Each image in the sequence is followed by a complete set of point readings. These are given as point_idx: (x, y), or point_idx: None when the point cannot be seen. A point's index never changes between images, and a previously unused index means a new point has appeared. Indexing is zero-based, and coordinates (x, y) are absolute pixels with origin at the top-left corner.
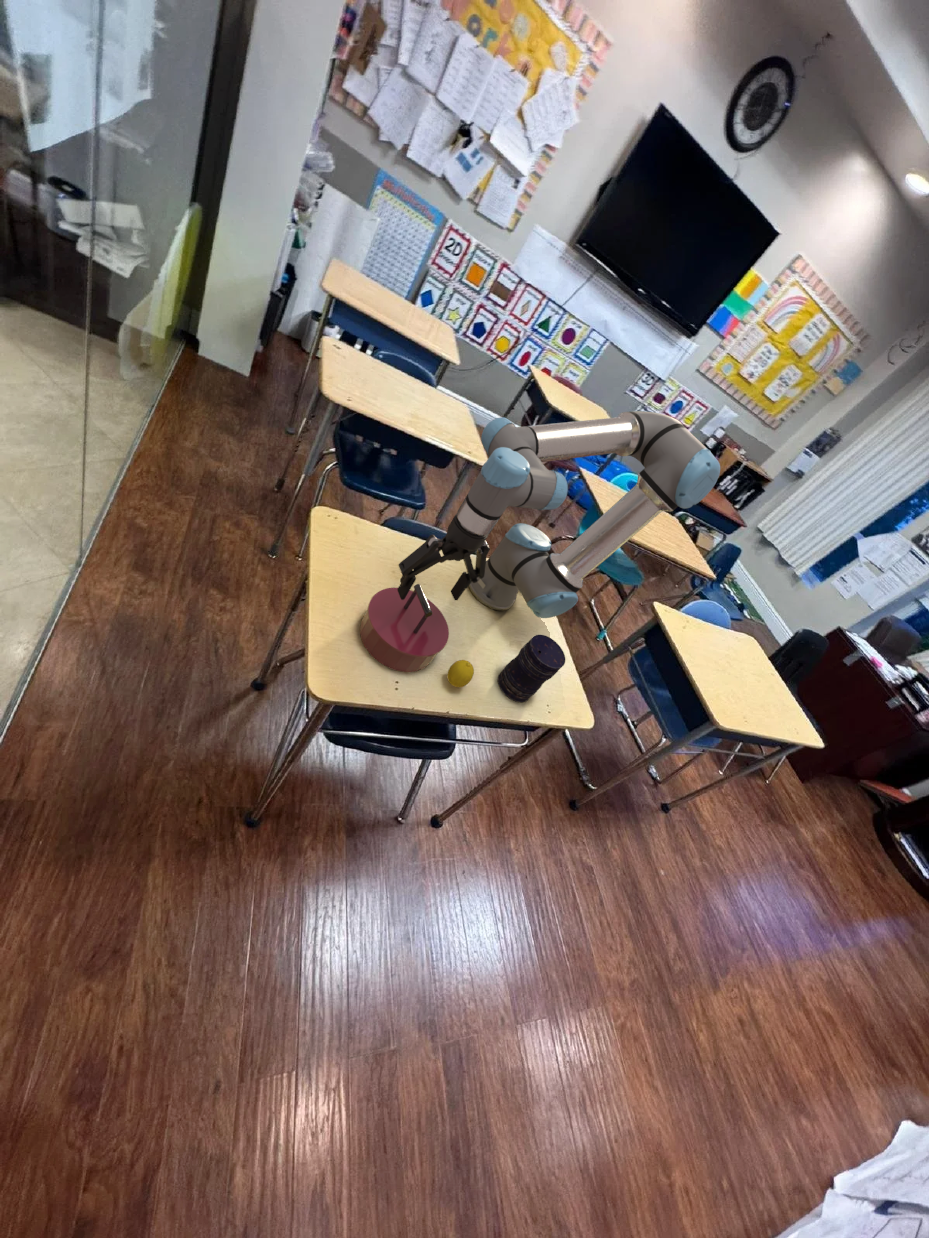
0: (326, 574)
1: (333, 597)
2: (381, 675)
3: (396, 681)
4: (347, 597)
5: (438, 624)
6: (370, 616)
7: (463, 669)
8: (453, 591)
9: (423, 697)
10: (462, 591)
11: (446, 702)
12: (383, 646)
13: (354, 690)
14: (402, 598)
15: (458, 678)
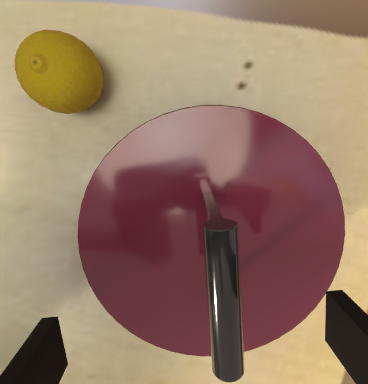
0: (329, 369)
1: None
2: (277, 105)
3: (242, 88)
4: None
5: (112, 236)
6: (339, 245)
7: (60, 49)
8: (56, 364)
9: (180, 38)
10: (10, 371)
11: (115, 20)
12: None
13: (358, 60)
14: (342, 294)
15: (79, 41)
